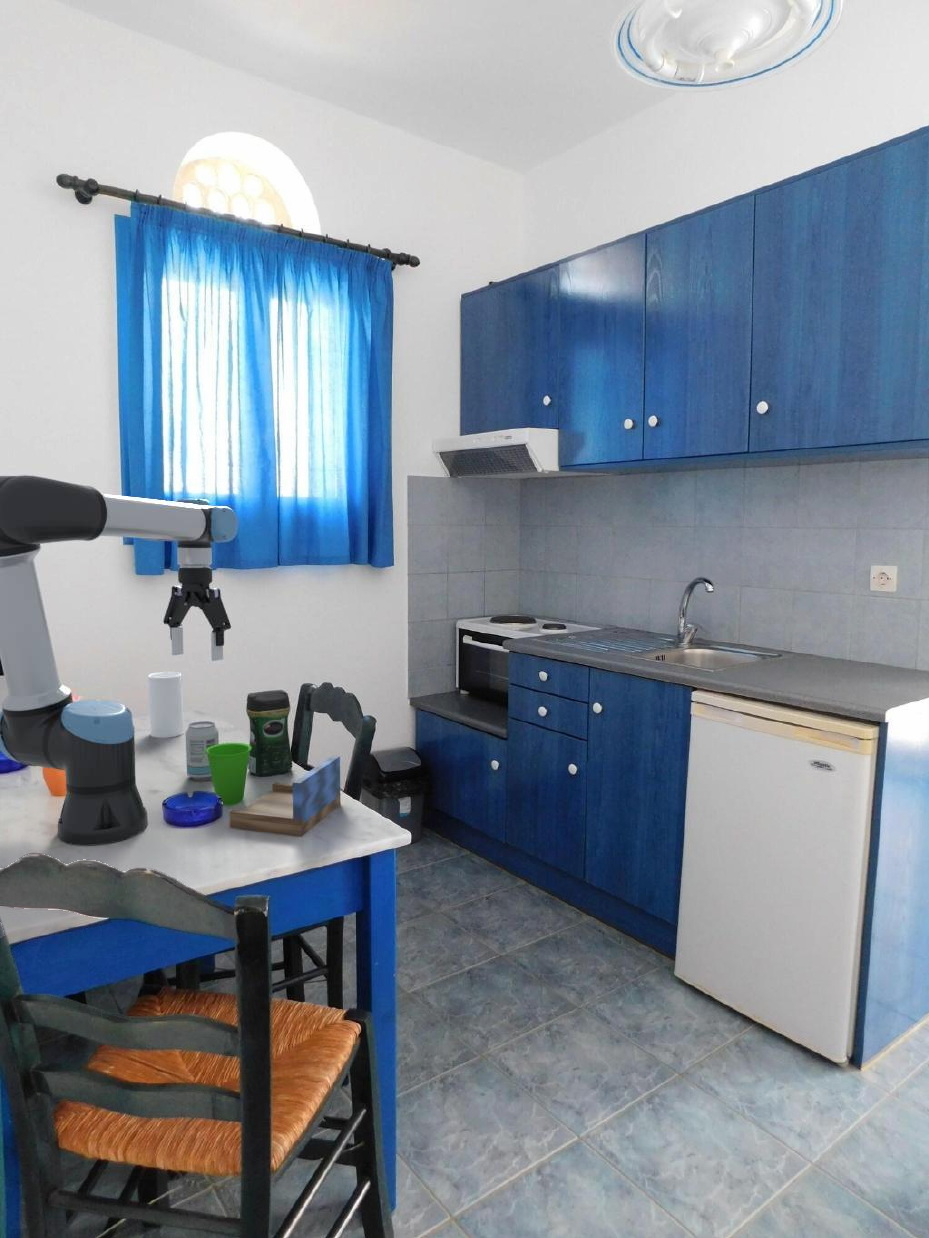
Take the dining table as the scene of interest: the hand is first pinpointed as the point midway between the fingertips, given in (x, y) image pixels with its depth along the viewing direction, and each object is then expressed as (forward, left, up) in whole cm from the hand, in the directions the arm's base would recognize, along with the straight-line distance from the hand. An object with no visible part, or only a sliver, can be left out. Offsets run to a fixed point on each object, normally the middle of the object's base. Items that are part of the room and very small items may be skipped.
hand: (197, 657), depth 189 cm
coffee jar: (-3, -20, -25) cm, 32 cm away
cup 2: (-23, -22, -25) cm, 40 cm away
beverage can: (-11, -8, -25) cm, 28 cm away
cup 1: (+18, +22, -25) cm, 38 cm away
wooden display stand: (-27, -37, -25) cm, 52 cm away
